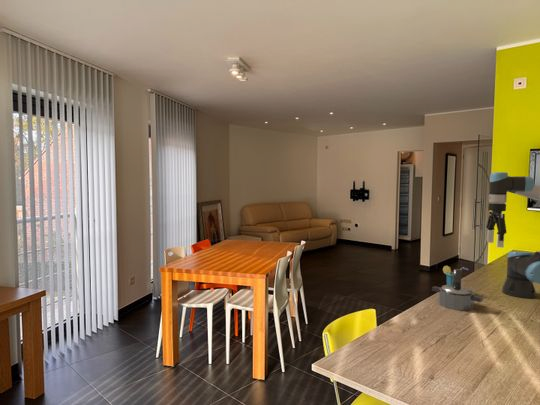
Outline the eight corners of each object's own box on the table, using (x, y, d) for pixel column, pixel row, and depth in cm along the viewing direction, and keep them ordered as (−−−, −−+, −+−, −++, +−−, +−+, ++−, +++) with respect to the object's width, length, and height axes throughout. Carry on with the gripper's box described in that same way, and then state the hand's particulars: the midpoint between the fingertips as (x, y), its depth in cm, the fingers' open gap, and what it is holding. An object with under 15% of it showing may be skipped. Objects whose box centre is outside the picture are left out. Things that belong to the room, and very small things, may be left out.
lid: (467, 288, 185) (468, 267, 184) (475, 296, 172) (476, 274, 171) (439, 286, 188) (440, 265, 187) (445, 293, 175) (446, 272, 174)
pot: (426, 302, 184) (426, 288, 183) (439, 296, 194) (439, 283, 193) (474, 315, 167) (475, 300, 166) (486, 307, 177) (487, 293, 176)
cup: (470, 294, 197) (471, 267, 196) (465, 297, 191) (466, 269, 190) (443, 288, 207) (444, 262, 206) (438, 291, 202) (439, 264, 200)
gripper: (481, 201, 197) (479, 240, 199) (498, 204, 173) (495, 249, 174) (496, 201, 195) (494, 241, 197) (516, 205, 171) (513, 249, 173)
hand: (495, 244), depth 186 cm, fingers open, 13 cm apart
